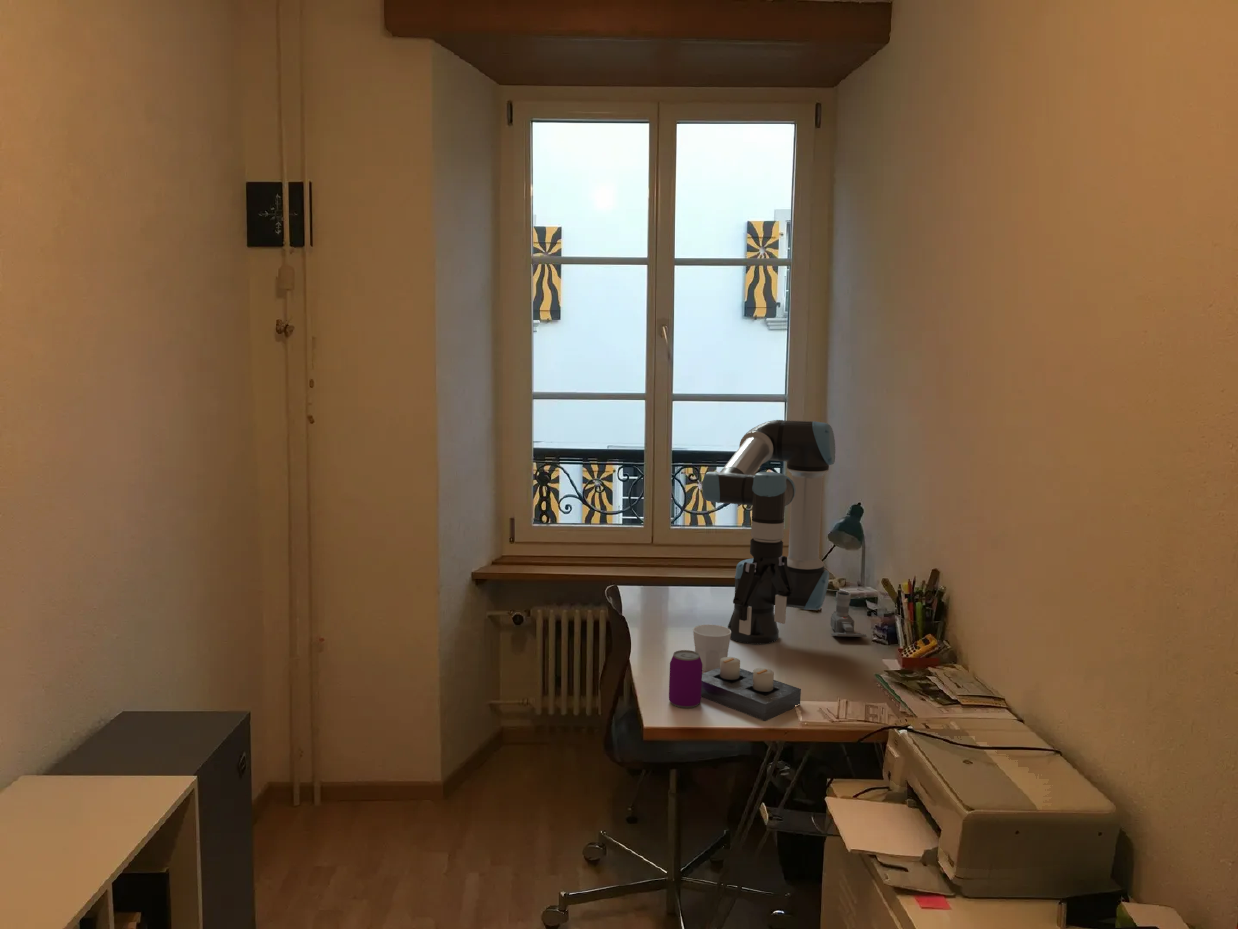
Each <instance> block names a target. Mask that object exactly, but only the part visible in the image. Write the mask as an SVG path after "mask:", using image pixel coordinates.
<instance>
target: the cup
mask: <svg viewBox="0 0 1238 929" xmlns="http://www.w3.org/2000/svg"><path fill="white" fill-rule="evenodd" d="M692 631H693V632H692V633H693V642H694V644H693V645H694V651H695V652H697V653H699V655H700V659H701V662H702V669H703V670H702V671H704V670H705V672H708V671H711V670H714V669H716V668H719V667H720V660H721V658H724V657H729V656H728V655H729V648H730V642H731V638H730V637H731V630H730V629H728V628H727V626H724V625H723V626H722V625H718V624H700V625H699V624H698V625H697V626H694V627H693V629H692Z"/></svg>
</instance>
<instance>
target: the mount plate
mask: <svg viewBox="0 0 1238 929" xmlns="http://www.w3.org/2000/svg"><path fill="white" fill-rule="evenodd" d="M801 694H802V689H801V688H799V687H796V686H793V685H790V684H787V683H785V682H781V681H779V680H776V679H774V680H773V690H772V691H768V692H762V691H757V690H755V689H753V672H752V671H749V670H746V669H744V668H741V667H740V677H739V678H738V679H735V680H728V679H724V678H721V677H720V667H719V668H716V669H714V670H711V671H705V672H702V688H701V698H704V699H707V700H709V701H712V702H713V703H717V704H720V705H723V706H725V707H728V708H730V709H732V710H735V711H737V712H740V713H743V714H746V715H748V716H751V717H753V718H756V719H758V720H761V721H763V722H766V721H768V720H770V719H771V720H772V719H773V718H775V717H777V716H780V715H782V714H784V713H786V712H788V711H790V710H792V709H795V708H796V707H795V705H798V704H800V705H801V697H802V696H801ZM794 707H795V708H794Z"/></svg>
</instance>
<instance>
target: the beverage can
mask: <svg viewBox="0 0 1238 929" xmlns="http://www.w3.org/2000/svg"><path fill="white" fill-rule="evenodd" d="M702 674H703V670H702V662H701V659H700V655H699V653H697V652H695V650H689V649H688V650H687V649H680V650H676V651H674V652H673V655H672V657H671V659H670V662H669V678H668V679H669V680H668V683H669V684H668V701H669V702H670V703H671V705H672V706H674V707H677V708H680V709H691V708H695V707H697V706H698V705H699V704H700V703H701V700H702V697H701V688H702Z"/></svg>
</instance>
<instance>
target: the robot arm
mask: <svg viewBox="0 0 1238 929" xmlns="http://www.w3.org/2000/svg"><path fill="white" fill-rule="evenodd" d="M835 460H836V440H835V434H834V430H833V427H832V426H831V424H829V423H827V422H821V421H816V420H815V421H814V420H811V421H810V420H809V421H808V420H783V419H775V420H774V419H773V420H770V421H769V420H768V421H765V422H764V423H761V424H758V425H757V426H755V427H752V428H751V429H749V430H748V431H747V432H746V433H744V435H743V436H742V438H741V439H740V440H739V447H738V449H737V450H736V451H735V452H734V454H732V456H731V458H730V459H728V462H726V463H725V465H724V466H723V467H722V469H721V470H720V471H708V472H707V471H706V473H705V474H704V476H703V479H702V485H701V491H702V497H703V499H704V500H705V502H712V503H717V504H728V505H729V504H732V505H743V506H751V524H750V527H751V528H750V536H751V539H750V541H749V542H750V544H749V553H750V555H751V556H752V558H747V559H743V560H741V561H739V562H738V563H737V564H736V567H735V576H734V580H735V581H734V597H733V599H732V603H733V604H734V607H733V610H732V611H733V612H732V614H731V617H730V620H729V621H728V622H729V623H728V625H727V626H726V628H728V629H730V630H731V637H730V640H733V641H736V642H739V643H743V644H748V645H749V644H750V645H765V644H772V643H774V642H777V641H778V640H779V636H780V630H779V627H778V623H780V624H783V625H784V624H786V618H787V616H786V615H787V608H796V609H801V610H811V611H812V610H813V611H817V610H820V609H821V607H822V606H823V605H824V601H825V598H826V594H827V591H828V586H829V580H830V572H829V571H828V570H827V569H825V563H824V562H823V561H822V560H821V559H820V543H821V542H820V541H821V539H820V538H821V524H822V523H821V521H822V520H821V519H822V503H823V479H824V478H823V477H824V476H825V475H826V474H827V473H828V472H829V470H830V466H832V465H834V464H835V462H836V461H835ZM769 461H776V462H778V461H779V462H786V470H787V471H788V472H789V473H790V474H791V478H790V477H789V476H788V475H785V474H783V473H782V472H781V473H780V472H775V471H761V472H758V470H759V469H760V467H761V466H762V465H763V464H765V463H767V462H769ZM788 505H790V513H789V530H788V531H789V533H788V534H789V535H788V555H787V556H785V555H783V552H784V551H783V550H784V542H783V539H784V534H785V513H786V512H785V511H786V510H785V509H786V508H785V507H787V506H788Z"/></svg>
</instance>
